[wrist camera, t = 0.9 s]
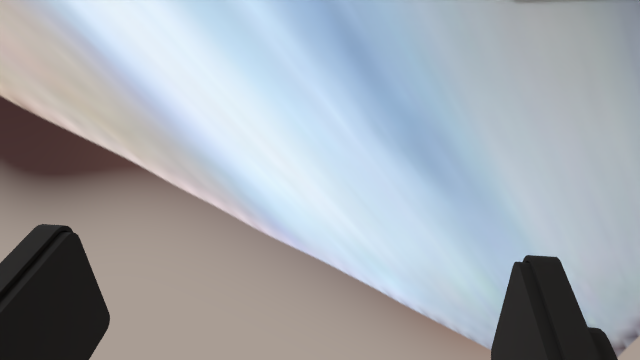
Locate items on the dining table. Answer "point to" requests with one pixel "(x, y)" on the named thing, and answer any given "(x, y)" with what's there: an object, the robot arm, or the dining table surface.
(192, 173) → the dining table surface
